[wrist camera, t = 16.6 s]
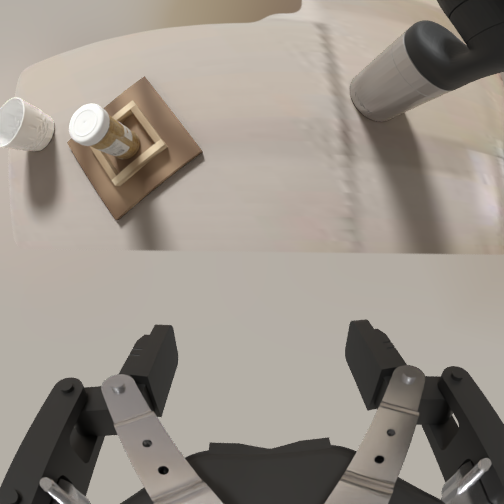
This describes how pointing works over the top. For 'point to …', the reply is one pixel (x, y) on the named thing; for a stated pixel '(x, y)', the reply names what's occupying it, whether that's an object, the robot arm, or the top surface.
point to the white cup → (24, 126)
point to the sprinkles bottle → (102, 132)
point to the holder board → (148, 155)
